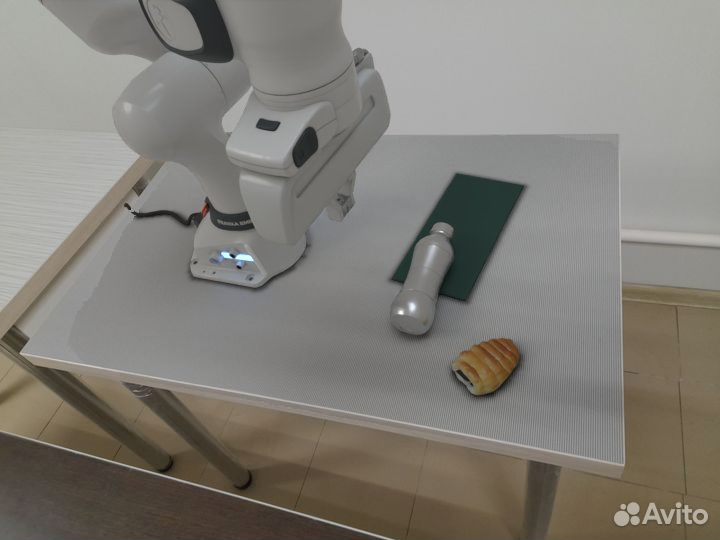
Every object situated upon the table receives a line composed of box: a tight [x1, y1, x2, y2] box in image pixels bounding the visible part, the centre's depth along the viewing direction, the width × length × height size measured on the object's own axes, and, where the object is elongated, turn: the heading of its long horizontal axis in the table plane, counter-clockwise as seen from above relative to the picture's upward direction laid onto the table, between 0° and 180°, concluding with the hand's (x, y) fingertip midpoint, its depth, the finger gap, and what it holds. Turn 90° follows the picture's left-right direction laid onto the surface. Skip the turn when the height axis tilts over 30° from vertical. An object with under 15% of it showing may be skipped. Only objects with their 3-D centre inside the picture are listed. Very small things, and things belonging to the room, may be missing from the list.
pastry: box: [451, 337, 520, 396], centre depth 72 cm, size 9×7×4 cm
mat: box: [391, 173, 524, 302], centre depth 91 cm, size 28×13×1 cm, turn 151°
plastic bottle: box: [388, 222, 454, 336], centre depth 82 cm, size 6×7×20 cm
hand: (342, 212), depth 56 cm, fingers closed
